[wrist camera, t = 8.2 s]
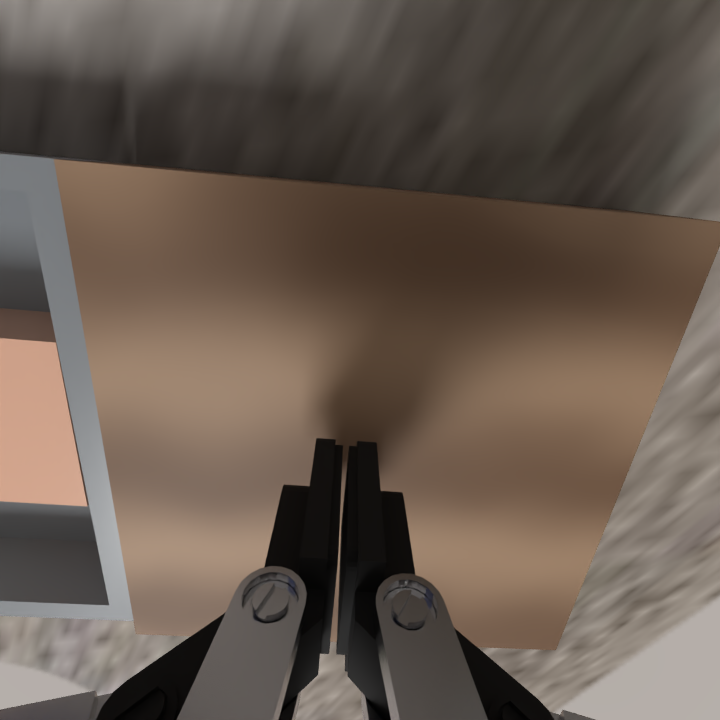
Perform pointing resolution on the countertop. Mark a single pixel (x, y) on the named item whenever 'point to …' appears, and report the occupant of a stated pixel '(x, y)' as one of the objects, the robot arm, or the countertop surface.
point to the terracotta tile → (35, 416)
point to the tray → (66, 522)
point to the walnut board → (371, 375)
